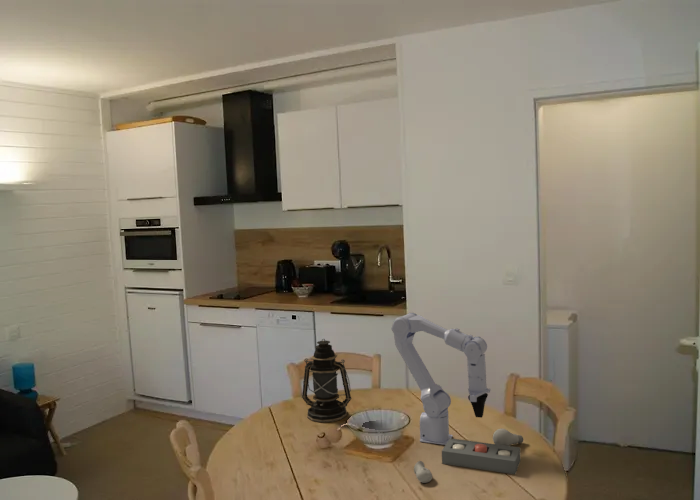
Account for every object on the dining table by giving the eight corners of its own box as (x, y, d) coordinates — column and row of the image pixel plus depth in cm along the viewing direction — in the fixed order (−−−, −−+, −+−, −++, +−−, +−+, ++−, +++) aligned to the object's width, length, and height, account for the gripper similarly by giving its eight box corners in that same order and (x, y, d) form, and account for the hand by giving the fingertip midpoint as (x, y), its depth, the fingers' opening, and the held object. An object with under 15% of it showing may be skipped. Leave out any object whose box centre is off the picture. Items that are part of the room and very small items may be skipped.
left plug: (451, 459, 179) (451, 448, 179) (454, 454, 182) (454, 443, 182) (463, 461, 178) (462, 449, 177) (465, 456, 181) (465, 444, 181)
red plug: (474, 459, 176) (473, 447, 176) (476, 454, 179) (476, 443, 179) (485, 461, 175) (485, 449, 174) (488, 456, 178) (487, 444, 178)
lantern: (295, 421, 218) (291, 343, 215) (308, 406, 233) (305, 333, 231) (347, 424, 213) (343, 344, 210) (357, 408, 228) (353, 334, 226)
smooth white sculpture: (432, 488, 165) (415, 484, 164) (427, 475, 173) (411, 471, 172) (436, 474, 164) (419, 470, 164) (431, 461, 172) (414, 457, 172)
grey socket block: (442, 463, 177) (441, 450, 177) (450, 450, 186) (450, 438, 186) (515, 474, 168) (515, 461, 168) (520, 460, 177) (520, 447, 177)
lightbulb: (530, 436, 186) (502, 435, 182) (525, 453, 187) (496, 451, 183) (520, 426, 191) (492, 424, 188) (515, 442, 193) (487, 440, 189)
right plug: (497, 466, 173) (497, 454, 173) (499, 461, 177) (499, 449, 176) (509, 467, 172) (509, 455, 171) (511, 462, 175) (511, 451, 175)
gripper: (484, 382, 177) (487, 425, 178) (493, 369, 190) (495, 410, 191) (462, 381, 180) (464, 423, 181) (472, 368, 193) (474, 408, 194)
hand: (479, 416), depth 186 cm, fingers closed
